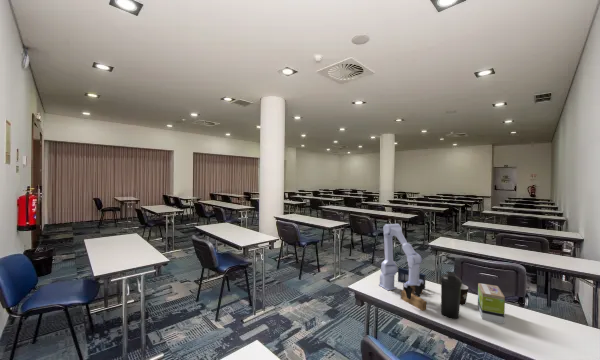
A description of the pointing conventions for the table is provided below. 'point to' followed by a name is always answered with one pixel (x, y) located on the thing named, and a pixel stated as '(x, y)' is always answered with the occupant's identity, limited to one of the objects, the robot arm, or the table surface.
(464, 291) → the coffee mug
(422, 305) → the rail
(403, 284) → the headboard
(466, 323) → the table surface
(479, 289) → the tea box
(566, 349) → the table surface
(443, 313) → the water bottle
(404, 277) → the vhs cassette tape
